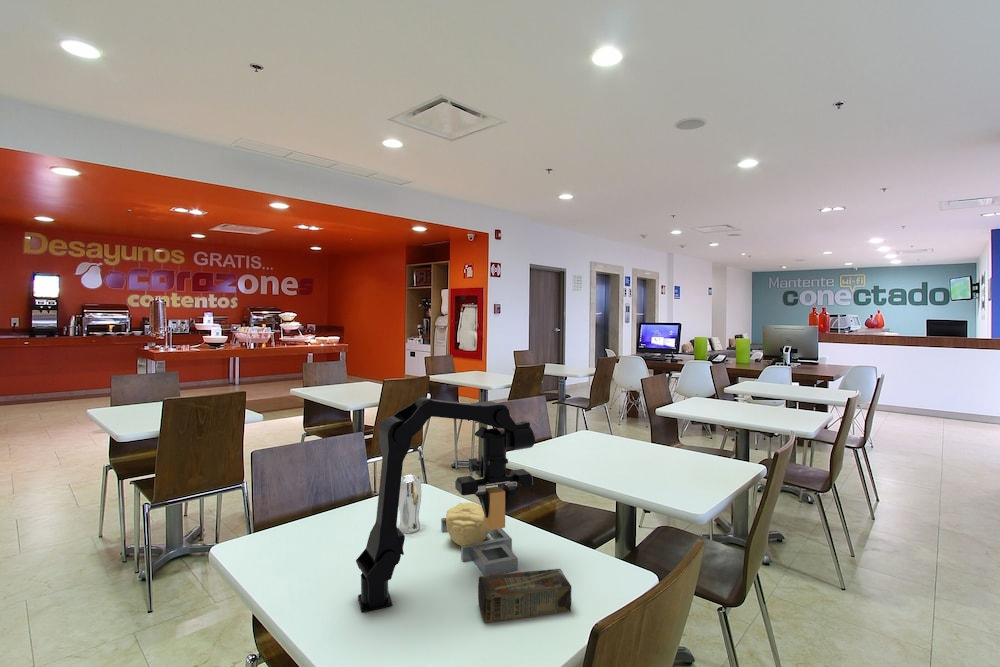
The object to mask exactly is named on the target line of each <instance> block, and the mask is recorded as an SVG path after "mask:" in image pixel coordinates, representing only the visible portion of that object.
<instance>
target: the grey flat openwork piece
mask: <svg viewBox="0 0 1000 667" xmlns="http://www.w3.org/2000/svg"><path fill="white" fill-rule="evenodd" d="M440 523H441V528H440V529H441V532H442V533H448V531H447V524H446V517H443V518H442V517H441V518H440ZM488 535H490V536H491V537H492V538H493V539H490V540H489V539H488V540H484V541H482V542H477V543H472V544H466V545H461V546H460V557H461V558H460V559H461V561H462V562H468V561H472V562H473V563H474V564H475V565H476V566H477V568H478V570H479V571H480V572H481V574H482V576H489V575H498V574H508V573H513V572H515V571H518V570H519V566H518V564H519V560H518V559H519V558H518V556H516V554H515V553H514V552H513V538H512V537H511V536H510V535H509V534H508V533H507V532H506V531H505V530H504V528H500V529H494V530H489V532H488Z"/></svg>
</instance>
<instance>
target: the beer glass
mask: <svg viewBox="0 0 1000 667" xmlns="http://www.w3.org/2000/svg"><path fill="white" fill-rule="evenodd" d="M421 502H422V482H421V476H420V475H417V474H404V475H402V476H401V486H400V496H399V506H398V512H399V517H400V521H399V526H398V529H399V530H400V531H401V532H402V533H403V534H414V533H417V532H418V531H421V530H420V529H421V524H420V517H419V515H420V508H421Z"/></svg>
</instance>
